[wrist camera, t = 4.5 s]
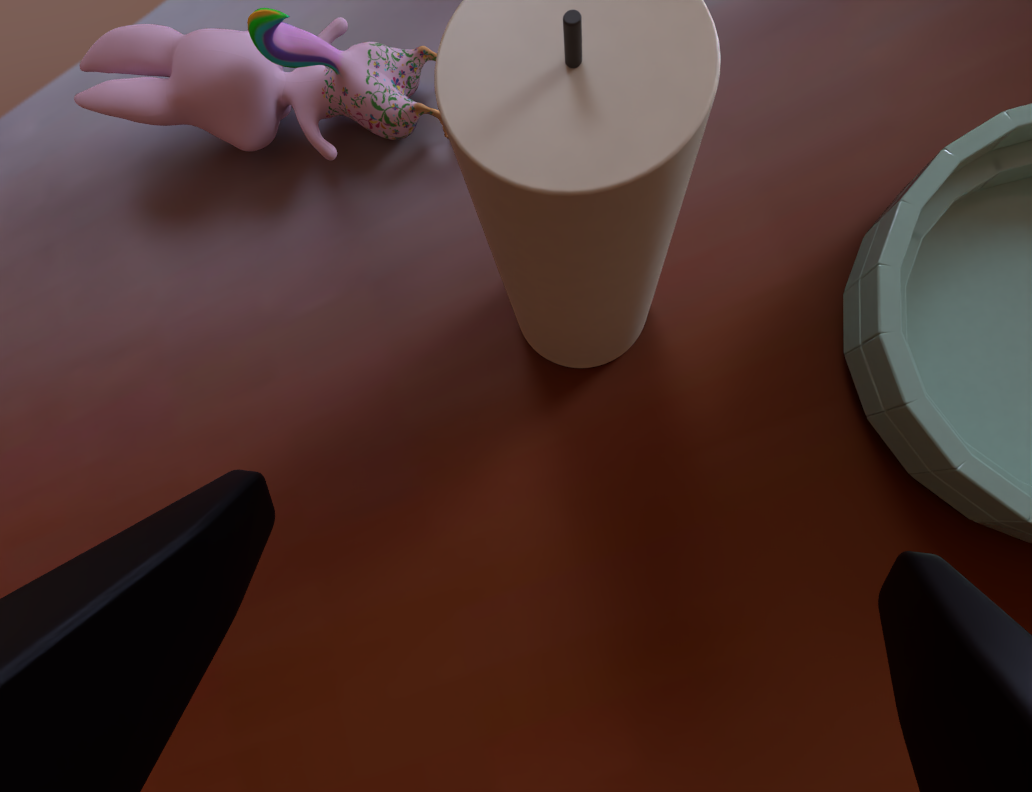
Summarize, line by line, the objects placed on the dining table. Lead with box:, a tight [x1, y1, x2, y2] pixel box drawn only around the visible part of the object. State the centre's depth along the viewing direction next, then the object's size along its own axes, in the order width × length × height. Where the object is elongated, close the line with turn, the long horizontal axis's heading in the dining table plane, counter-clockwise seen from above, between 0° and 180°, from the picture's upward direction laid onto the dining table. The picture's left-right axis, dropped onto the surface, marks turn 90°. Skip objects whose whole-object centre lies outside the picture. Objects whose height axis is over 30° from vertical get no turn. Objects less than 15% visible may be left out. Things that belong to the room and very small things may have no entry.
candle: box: [435, 0, 721, 368], centre depth 17 cm, size 5×5×14 cm
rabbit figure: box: [74, 8, 449, 160], centre depth 24 cm, size 6×6×15 cm
